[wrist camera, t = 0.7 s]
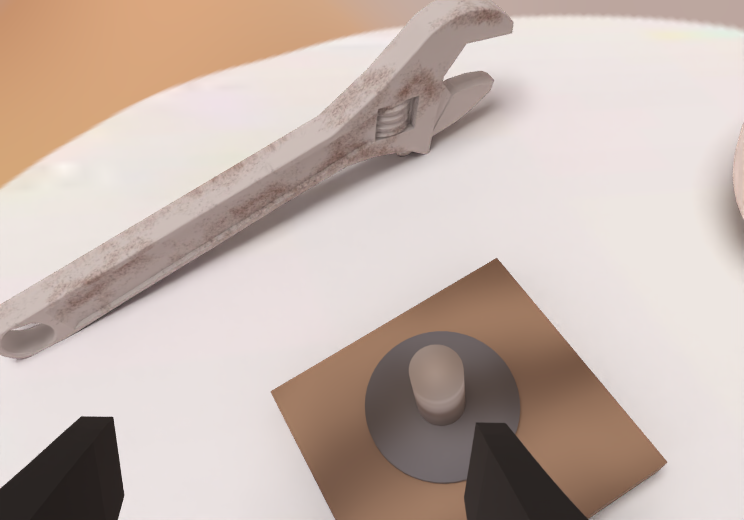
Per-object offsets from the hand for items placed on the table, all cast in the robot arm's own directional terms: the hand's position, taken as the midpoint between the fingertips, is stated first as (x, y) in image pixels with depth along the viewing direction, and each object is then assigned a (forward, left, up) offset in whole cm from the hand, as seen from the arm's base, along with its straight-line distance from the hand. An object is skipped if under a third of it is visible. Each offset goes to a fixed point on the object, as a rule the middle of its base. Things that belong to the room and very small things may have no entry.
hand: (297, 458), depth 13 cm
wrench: (+17, -3, -15) cm, 23 cm away
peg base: (+2, -5, -15) cm, 16 cm away
